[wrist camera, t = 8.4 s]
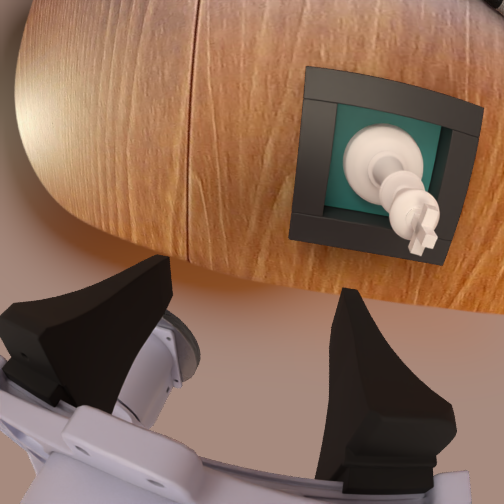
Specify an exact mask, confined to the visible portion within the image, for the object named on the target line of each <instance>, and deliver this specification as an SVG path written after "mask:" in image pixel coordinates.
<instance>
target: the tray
mask: <svg viewBox="0 0 504 504" xmlns="http://www.w3.org/2000/svg"><path fill="white" fill-rule="evenodd" d="M303 98H304V99H303V107H302V118H301V128H300V138H299V148H298V158H297V167H296V177H295V186H294V194H293V203H292V213H291V220H290V229H289V237H288V238H289V239H290V240H296V241H302V242H308V243H314V244H320V245H326V246H332V247H338V248H344V249H350V250H356V251H362V252H367V253H373V254H379V255H385V256H390V257H396V258H402V259H407V260H413V261H418V262H424V263H430V264H435V265H440V266H443V264H444V261H445V258H446V256H447V253H448V250H449V247H450V244H451V241H452V239H453V236H454V233H455V230H456V227H457V224H458V221H459V217H460V214H461V211H462V207H463V204H464V200H465V197H466V193H467V189H468V186H469V182H470V178H471V174H472V169H473V165H474V161H475V156H476V151H477V146H478V141H479V136H480V130H481V125H482V119H483V112H484V108H483V107H480V106H477V105H475V104H472V103H469V102H466V101H463V100H460V99H457V98H454V97H451V96H448V95H445V94H442V93H438V92H435V91H432V90H428V89H424V88H421V87H417V86H413V85H409V84H405V83H401V82H397V81H393V80H388V79H384V78H379V77H374V76H369V75H364V74H358V73H353V72H347V71H340V70H334V69H327V68H319V67H311V66H306V72H305V84H304V96H303ZM380 123H383V124H391V125H394V126H397V127H399V128H401V129H403V130H404V131H406V132H407V133H408V134H409V135H410V136H411V137H412V138H413V139H414V140H415V142H416V144H417V145H418V147H419V149H420V151H421V154H422V158H423V175H422V179H421V181H422V183H423V185H424V188H425V191H426V192H428V193H430V194H431V195H432V196H433V197H434V198H435V200H436V201H437V203H438V206H439V211H440V216H439V221H438V224H437V226H436V228H435V229H434V232H435V234H436V235H437V237H438V238H437V240H436V242H435V245H434V247H433V249H431V248H427V247H425V248H424V251H423V253H422V256H420V255H416V254H413V253H410V251H409V248H408V246H409V243H410V241H411V240H407V239H404V238H402V237H400V236H399V235H397V234H396V233H395V231H394V230H393V228H392V226H391V224H390V219H389V213H388V212H387V211H386V210H385V209H384V208H383V206H382V205H376V204H373V203H370V202H368V201H366V200H364V199H362V198H361V197H360V196H359V195H357V194H356V193H355V191H354V190H353V189H352V188H351V186H350V185H349V183H348V181H347V179H346V177H345V174H344V170H343V156H344V151H345V148H346V146H347V144H348V142H349V141H350V139H351V138H352V137H353V136H354V135H355V134H356V133H357V132H358V131H359V130H361V129H363V128H364V127H367V126H369V125H373V124H380Z"/></svg>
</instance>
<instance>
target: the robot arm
mask: <svg viewBox="0 0 504 504" xmlns="http://www.w3.org/2000/svg"><path fill="white" fill-rule="evenodd" d="M172 296H173V291H172V281H171V270H170V259H169V257H168V256H162V255H154V256H152V257H150V258H148V259H146V260H144V261H142V262H140V263H138V264H136V265H134V266H132V267H130V268H128V269H126V270H124V271H122V272H120V273H118V274H116V275H114V276H112V277H110V278H108V279H105V280H103V281H101V282H99V283H97V284H94V285H92V286H89V287H86V288H84V289H81V290H78V291H75V292H71V293H68V294H65V295H61V296H57V297H52V298H48V299H43V300H36V301H28V302H18V303H13V304H12V305H11V306H10V307H9V308H8V309H7V310H6V311H4V312H3V313H2V314H1V315H0V337H1V339H2V341H3V343H4V345H5V347H6V348H7V350H8V352H9V354H10V356H11V358H10V359H9V361H8V362H7V360H6V359H5V358H4V357H3V356H1V355H0V430H1V431H2V432H3V433H4V434H5V435H7V436H8V437H9V438H10V439H11V440H13V441H14V442H15V443H16V444H18V445H19V446H20V447H21V448H23V449H24V450H25V451H27V453H28V456H29V458H30V461H31V463H32V465H33V468H34V470H35V472H36V477H35V479H34V481H33V482H32V484H31V486H30V487H29V489H28V490H27V492H26V494H25V495H24V497H23V499H22V500H21V502H20V504H472V501H471V488H470V477H469V471H467V470H464V471H455V472H445V473H440V474H437V475H434V476H433V467H435V466H436V465H437V459H436V455H437V454H439V453H440V452H441V451H442V450H443V449H444V448H445V447H446V446H447V445H448V444H449V443H450V442H451V441H452V440H453V438H454V437H455V435H456V432H457V428H456V422H455V416H454V412H453V408H452V405H451V404H450V403H449V402H447V401H446V400H445V399H443V398H442V397H440V396H439V395H438V394H436V393H435V392H434V391H432V390H431V389H430V388H429V387H428V386H427V385H425V384H424V383H423V382H422V381H421V380H419V378H418V377H417V376H416V375H415V374H414V373H413V372H412V371H411V370H410V369H409V368H408V367H407V366H406V365H405V364H404V363H403V362H402V361H401V359H400V358H399V357H398V356H397V355H396V353H395V352H394V351H393V349H392V348H391V347H390V345H389V344H388V343H387V341H386V340H385V338H384V337H383V335H382V334H381V332H380V331H379V329H378V327H377V325H376V324H375V322H374V320H373V318H372V317H371V315H370V313H369V311H368V309H367V307H366V306H365V303H364V301H363V299H362V297H361V295H360V293H359V292H358V290H355V289H349V288H343V287H342V291H341V295H340V298H339V302H338V306H337V309H336V313H335V316H334V320H333V323H332V327H331V336H330V346H329V403H328V410H327V417H326V424H325V430H324V436H323V442H322V447H321V452H320V457H319V462H318V467H317V471H316V475H315V479H307V478H299V477H293V476H286V475H280V474H274V473H268V472H263V471H258V470H253V469H248V468H243V467H239V466H235V465H230V464H226V463H222V462H218V461H215V460H211V459H207V458H203V457H200V456H198V455H197V454H196V452H195V451H194V450H192V449H191V448H189V447H188V446H186V445H185V444H183V443H181V442H179V441H177V440H175V439H172V438H170V437H168V436H165V435H162V434H160V433H157V432H154V431H151V430H149V429H150V428H151V427H152V426H153V425H154V423H155V422H156V420H157V418H158V416H159V414H160V412H161V410H162V408H163V406H164V404H165V402H166V400H167V398H168V396H169V394H170V392H171V390H172V388H173V387H176V388H181V387H182V380H181V374H180V368H179V362H178V355H177V349H176V342H175V335H174V332H173V331H171V330H169V329H166V328H162V327H158V326H157V324H158V323H159V321H160V319H161V318H162V316H163V315H164V313H165V311H166V309H167V307H168V305H169V303H170V300H171V298H172Z"/></svg>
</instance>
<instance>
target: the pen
mask: <svg viewBox="0 0 504 504" xmlns="http://www.w3.org/2000/svg"><path fill="white" fill-rule="evenodd" d="M485 1H486V2H487V3H489V4H490V5H491V6H492V7H493V8H495V10H498V11H499V12H500V13H501V14H502V15H503V17H504V0H485Z"/></svg>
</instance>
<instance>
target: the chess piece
mask: <svg viewBox="0 0 504 504" xmlns="http://www.w3.org/2000/svg"><path fill="white" fill-rule="evenodd" d="M343 170H344V174H345V177H346V179H347V181H348V183H349V185H350V186H351V188H352V189H353V190H354V191H355V193H356V194H357V195H359V196H360V197H361V198H362V199H364V200H366V201H368V202H370V203H373V204H376V205H382V206H383V208H384V209H385V210H386V211H387V212H388V213H389V219H390V224H391V226H392V228H393V230H394V231H395V233H396V234H397V235H399V236H400V237H402V238H404V239H407V240H411V241H410V243H409V246H408V248H409V251H410V253H413V254H416V255H420V256H422V253H423V251H424V248H425V247H427V248H431V249H433V247H434V245H435V242H436V240H437V238H438V237H437V235H436V234H435V232H434V229H435V228H436V226H437V224H438V221H439V216H440V211H439V206H438V203H437V201H436V200H435V198H434V197H433V196H432V195H431V194H430V193H428V192H426V191H425V188H424V185H423V183H422V181H421V179H422V175H423V158H422V154H421V151H420V149H419V147H418V145H417V144H416V142H415V140H414V139H413V138H412V137H411V136H410V135H409V134H408V133H407V132H406V131H404V130H403V129H401V128H399V127H397V126H394V125H391V124H383V123H380V124H373V125H369V126H367V127H364V128H363V129H361V130H359V131H358V132H357V133H356V134H355V135H354V136H353V137H352V138H351V139H350V141H349V142H348V144H347V146H346V148H345V151H344V156H343Z"/></svg>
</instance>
